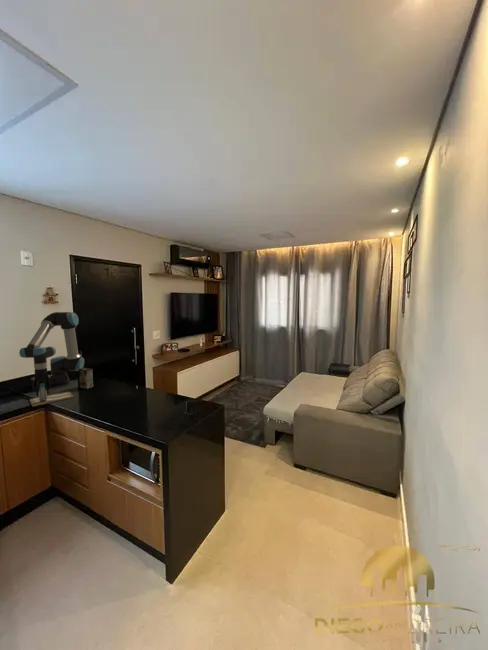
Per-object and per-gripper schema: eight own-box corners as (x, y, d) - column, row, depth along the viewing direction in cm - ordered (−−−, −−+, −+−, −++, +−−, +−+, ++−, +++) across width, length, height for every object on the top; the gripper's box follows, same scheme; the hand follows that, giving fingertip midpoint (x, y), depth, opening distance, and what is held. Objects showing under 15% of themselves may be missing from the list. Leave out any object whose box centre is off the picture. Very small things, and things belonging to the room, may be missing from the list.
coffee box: (79, 387, 245) (78, 369, 243) (86, 385, 251) (85, 367, 249) (87, 388, 241) (86, 370, 239) (93, 386, 247) (92, 368, 245)
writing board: (29, 400, 215) (29, 398, 215) (69, 392, 232) (69, 391, 232) (32, 406, 203) (32, 405, 203) (73, 398, 220) (73, 396, 220)
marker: (39, 400, 211) (38, 383, 209) (46, 399, 213) (44, 382, 212) (40, 402, 208) (39, 385, 206) (46, 401, 210) (45, 384, 209)
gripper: (27, 371, 199) (29, 403, 202) (55, 367, 210) (57, 398, 213) (26, 369, 205) (28, 400, 208) (53, 365, 216) (55, 395, 219)
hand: (43, 399), depth 210 cm, fingers closed on marker, 3 cm apart
